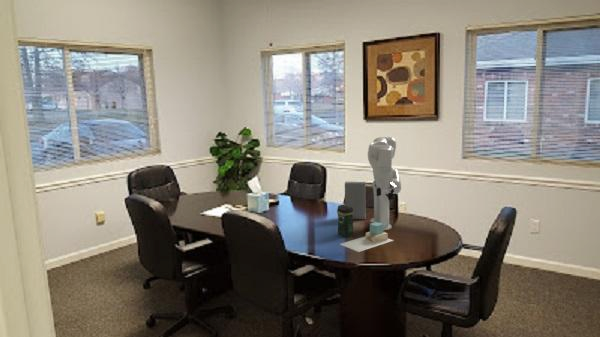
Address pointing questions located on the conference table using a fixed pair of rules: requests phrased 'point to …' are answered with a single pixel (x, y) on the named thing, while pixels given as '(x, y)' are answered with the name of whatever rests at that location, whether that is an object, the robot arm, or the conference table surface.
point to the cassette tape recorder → (356, 198)
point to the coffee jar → (345, 221)
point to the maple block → (376, 237)
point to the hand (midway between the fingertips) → (384, 197)
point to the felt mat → (362, 244)
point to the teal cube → (376, 228)
